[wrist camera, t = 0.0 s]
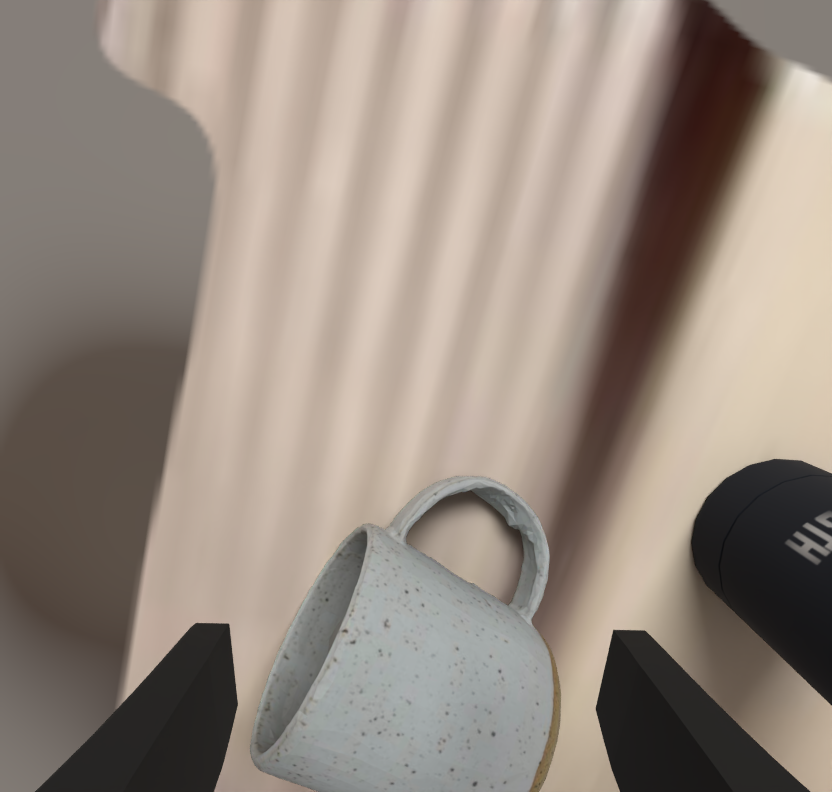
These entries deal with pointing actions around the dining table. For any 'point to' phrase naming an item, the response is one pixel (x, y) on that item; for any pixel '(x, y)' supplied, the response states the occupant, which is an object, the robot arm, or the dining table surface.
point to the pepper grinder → (775, 559)
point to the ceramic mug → (414, 669)
